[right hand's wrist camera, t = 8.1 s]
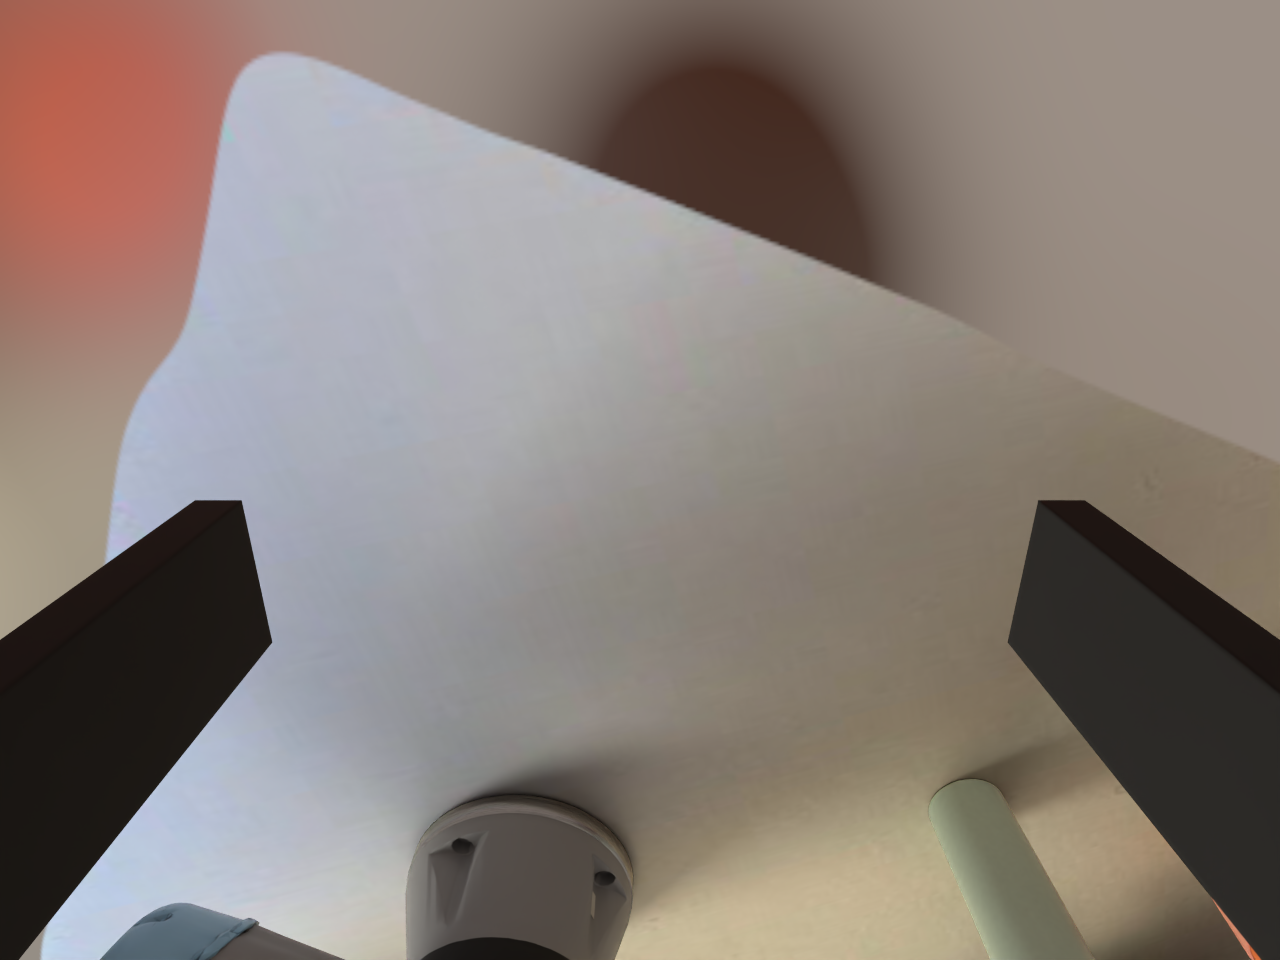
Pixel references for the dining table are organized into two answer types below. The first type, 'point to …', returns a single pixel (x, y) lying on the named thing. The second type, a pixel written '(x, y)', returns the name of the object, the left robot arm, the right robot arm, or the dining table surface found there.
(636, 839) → the dining table surface
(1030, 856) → the pale green bottle
